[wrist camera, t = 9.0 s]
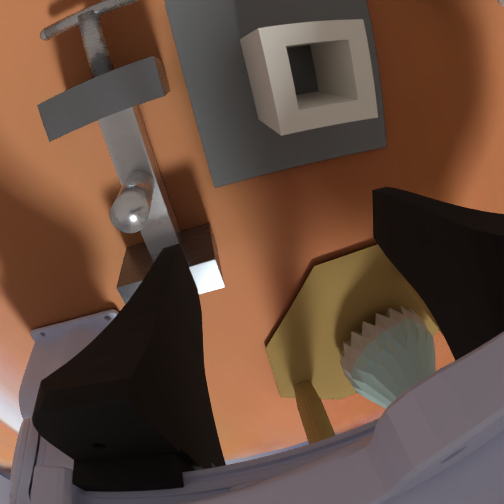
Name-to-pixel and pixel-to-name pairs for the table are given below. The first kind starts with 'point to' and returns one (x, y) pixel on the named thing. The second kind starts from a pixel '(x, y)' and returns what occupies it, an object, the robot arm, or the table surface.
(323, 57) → the collar
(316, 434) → the hourglass
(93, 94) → the vise
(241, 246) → the table surface
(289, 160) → the mat
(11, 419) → the table surface
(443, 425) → the robot arm
